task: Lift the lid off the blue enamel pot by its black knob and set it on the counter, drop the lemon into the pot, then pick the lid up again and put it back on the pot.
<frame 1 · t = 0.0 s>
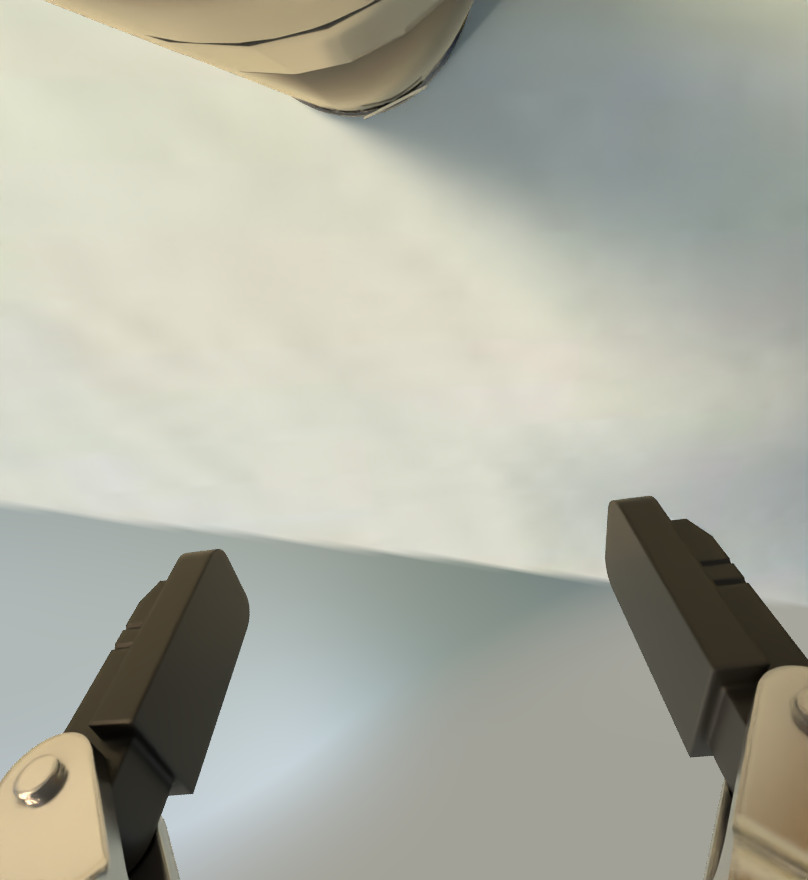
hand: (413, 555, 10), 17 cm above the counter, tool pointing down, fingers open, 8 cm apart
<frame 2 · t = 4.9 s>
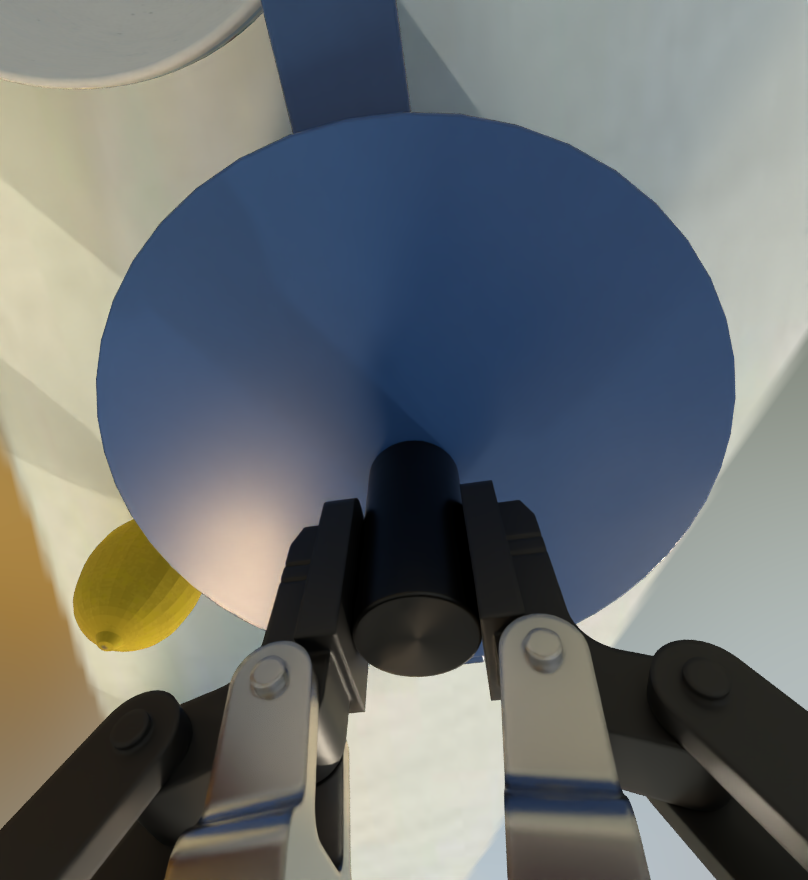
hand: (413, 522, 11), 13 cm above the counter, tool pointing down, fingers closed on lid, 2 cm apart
lid: (413, 465, 13), point 11 cm above the counter, touching gripper, pot
lemon: (179, 522, 28), on the counter
pot: (410, 333, 22), on the counter
when the fingers open (3 cm above the counter, at t = 13.3 s): lid stays where it is, point 1 cm above the counter.
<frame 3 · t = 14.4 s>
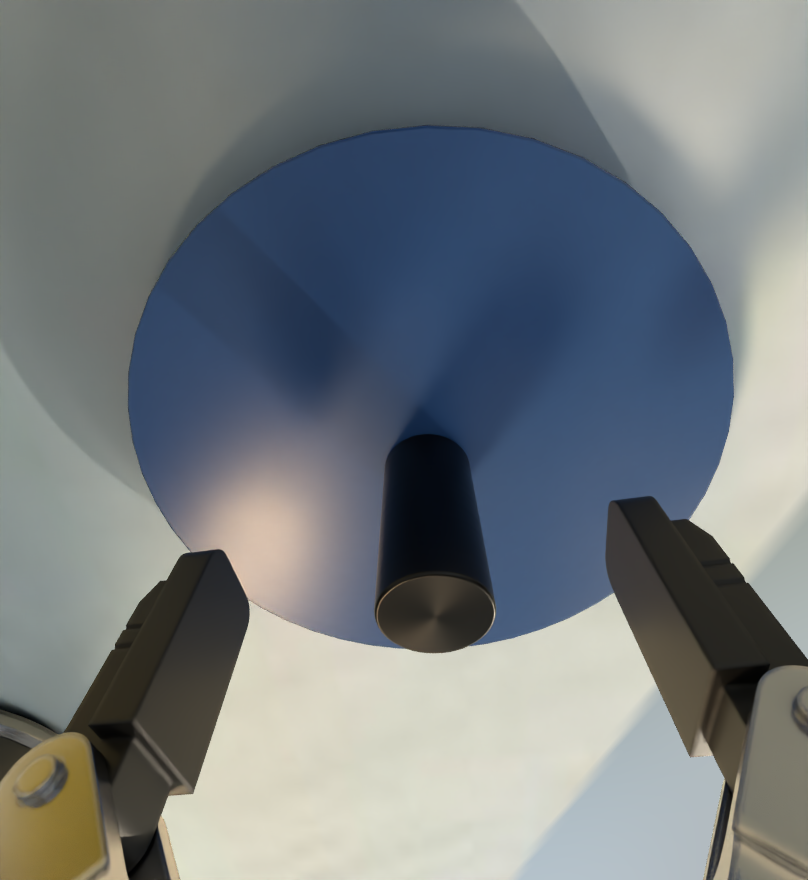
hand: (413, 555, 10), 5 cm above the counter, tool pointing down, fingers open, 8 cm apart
lid: (426, 458, 14), point 1 cm above the counter
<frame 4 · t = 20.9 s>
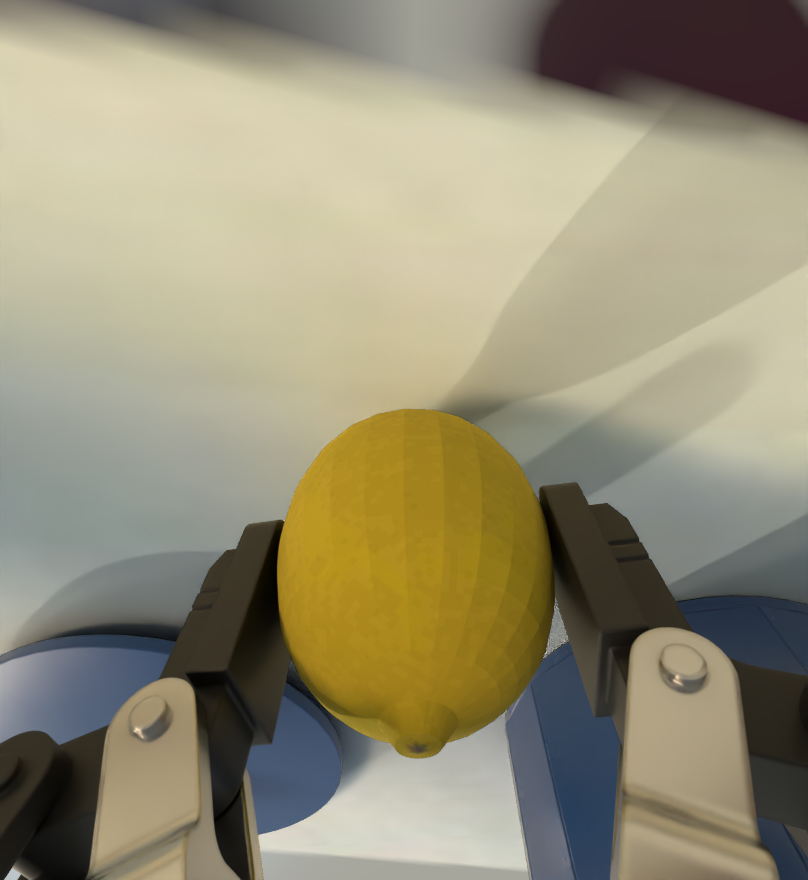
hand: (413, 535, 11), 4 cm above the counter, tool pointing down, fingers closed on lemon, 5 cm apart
lid: (162, 749, 21), point 1 cm above the counter
lemon: (411, 444, 14), on the counter, touching gripper
pot: (678, 713, 21), on the counter
when the fingers open (13 cm above the counter, at t = 27.2 s): lemon drops 8 cm, resting on pot.
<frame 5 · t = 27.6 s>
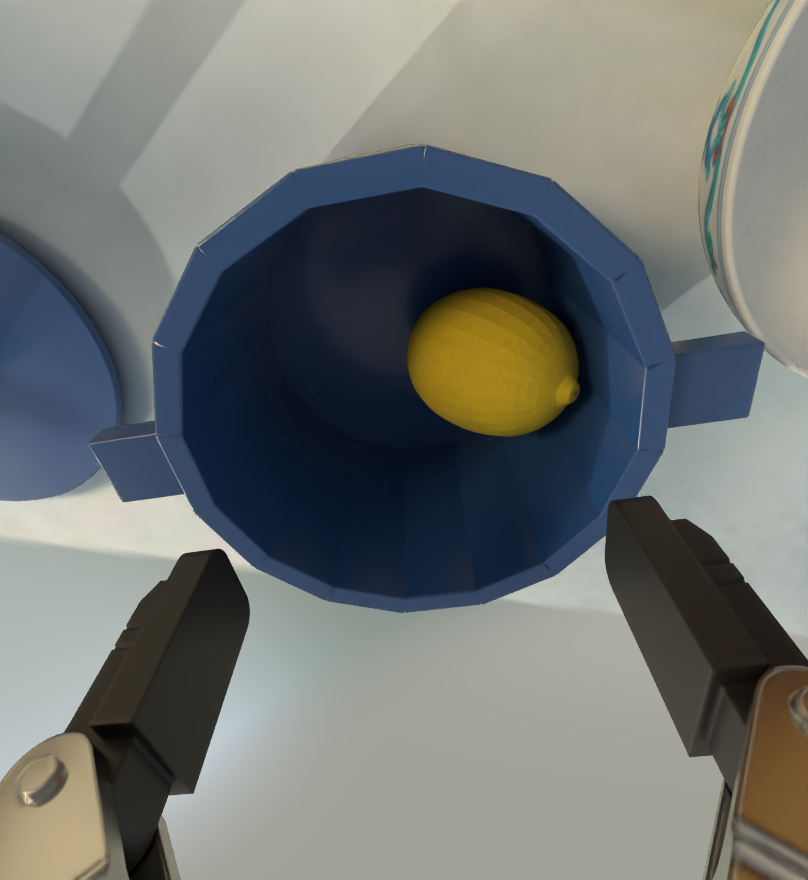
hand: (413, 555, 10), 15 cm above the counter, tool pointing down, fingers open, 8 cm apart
lemon: (414, 336, 22), point 1 cm above the counter, touching pot
pot: (409, 326, 23), on the counter
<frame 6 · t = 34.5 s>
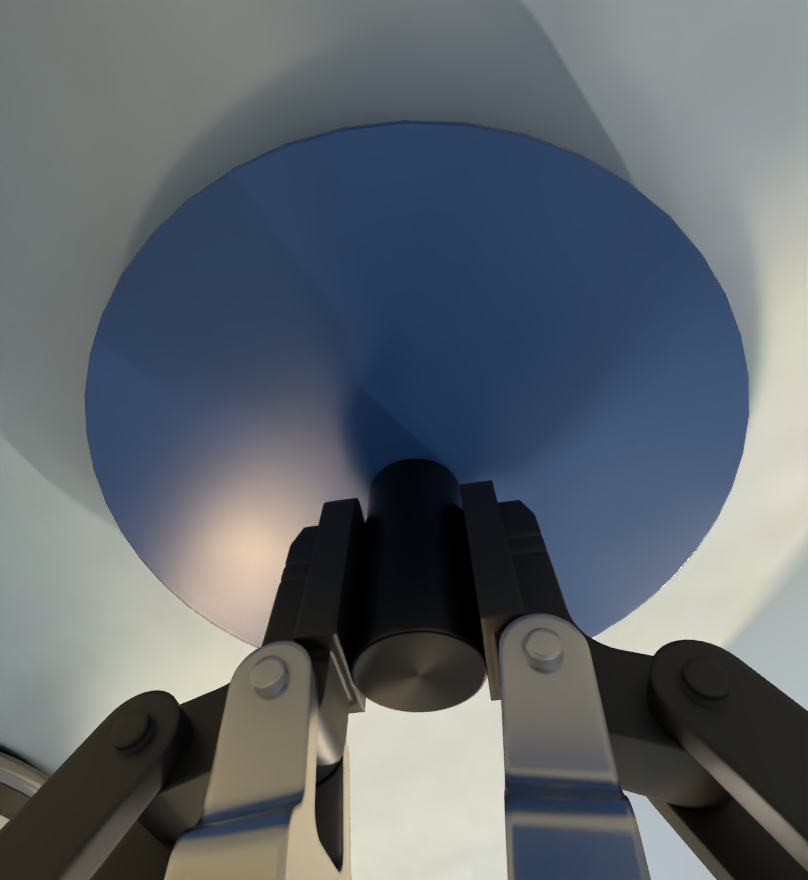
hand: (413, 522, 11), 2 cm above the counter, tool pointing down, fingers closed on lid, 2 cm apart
lid: (414, 482, 13), point 1 cm above the counter, touching gripper
when the fingers open (12 cm above the counter, at t = 42.1 s): lid stays where it is, resting on pot.
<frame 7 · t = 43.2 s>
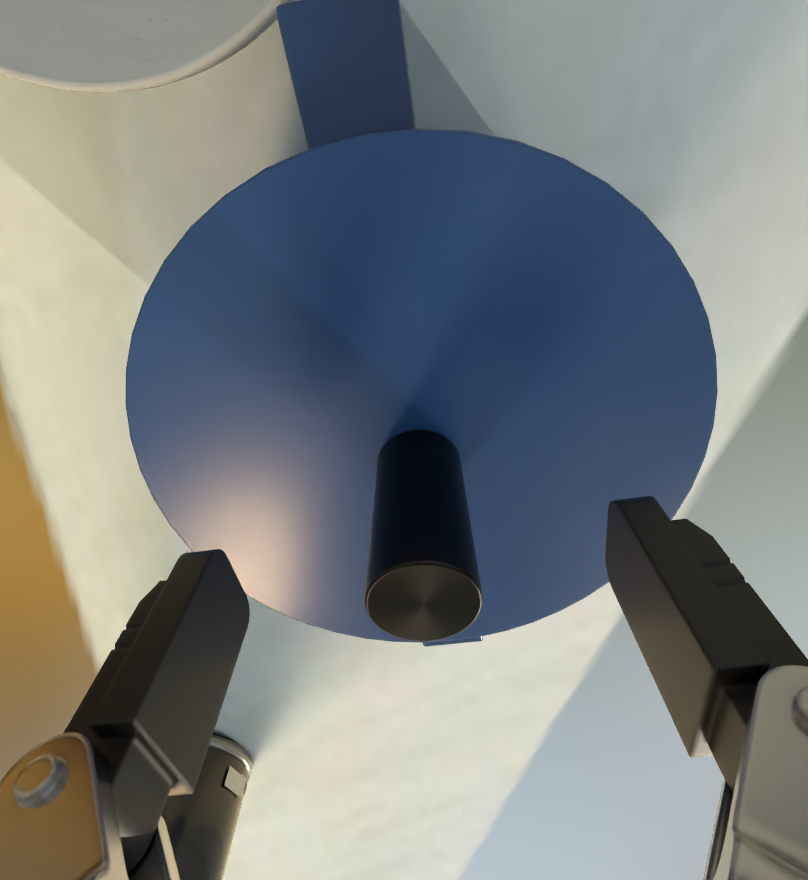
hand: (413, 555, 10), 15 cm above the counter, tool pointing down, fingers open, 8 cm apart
lid: (418, 453, 14), point 10 cm above the counter, touching pot
pot: (412, 326, 23), on the counter
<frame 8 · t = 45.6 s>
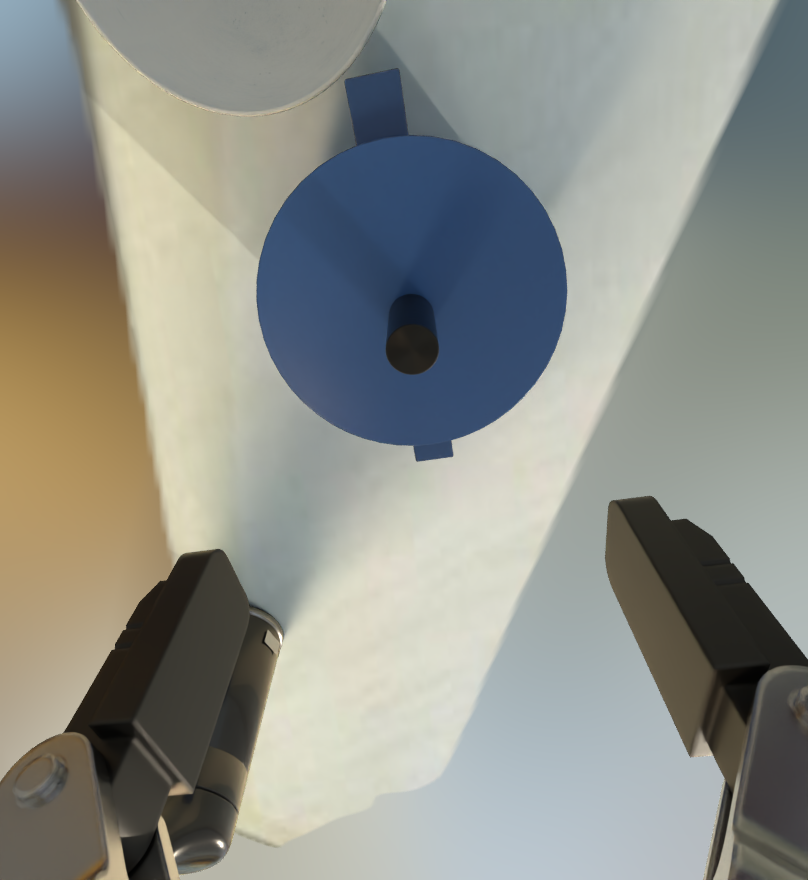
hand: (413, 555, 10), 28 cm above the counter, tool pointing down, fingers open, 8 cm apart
lid: (411, 313, 25), point 10 cm above the counter, touching pot
pot: (408, 265, 34), on the counter
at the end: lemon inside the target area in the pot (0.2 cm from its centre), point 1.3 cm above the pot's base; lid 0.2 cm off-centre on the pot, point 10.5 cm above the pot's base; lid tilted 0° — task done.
